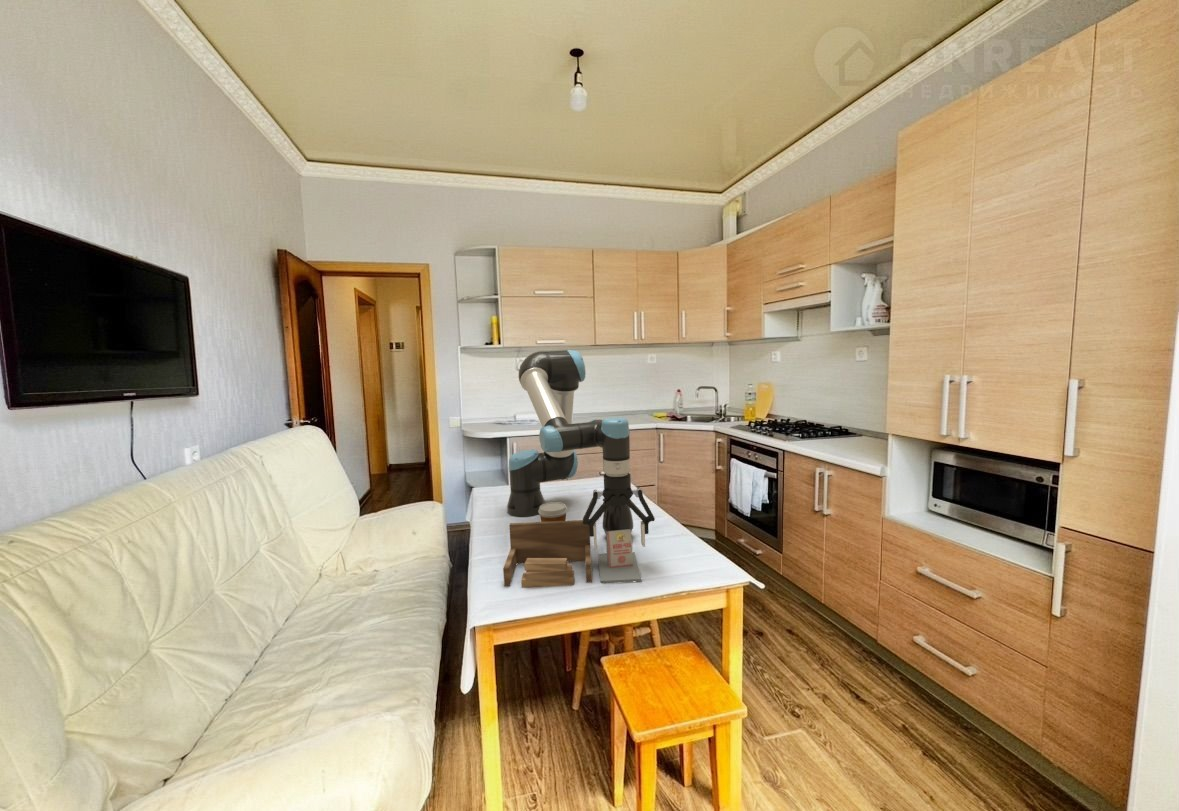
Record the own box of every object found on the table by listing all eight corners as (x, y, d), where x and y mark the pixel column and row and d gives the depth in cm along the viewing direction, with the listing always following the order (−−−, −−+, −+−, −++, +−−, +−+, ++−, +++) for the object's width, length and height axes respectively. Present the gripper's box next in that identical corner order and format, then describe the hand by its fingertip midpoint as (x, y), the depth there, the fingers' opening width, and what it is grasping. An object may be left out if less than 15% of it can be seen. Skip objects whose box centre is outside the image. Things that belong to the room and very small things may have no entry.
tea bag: (607, 562, 129) (605, 529, 128) (629, 559, 130) (628, 526, 129) (609, 568, 125) (608, 534, 124) (632, 565, 126) (631, 531, 125)
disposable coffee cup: (564, 548, 141) (563, 512, 139) (536, 547, 143) (534, 511, 141) (572, 536, 150) (570, 501, 149) (544, 535, 152) (543, 501, 151)
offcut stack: (523, 578, 123) (522, 558, 122) (574, 576, 123) (573, 555, 122) (521, 588, 118) (520, 566, 117) (574, 585, 118) (573, 564, 117)
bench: (512, 561, 133) (510, 523, 132) (590, 558, 134) (589, 519, 132) (504, 586, 120) (501, 543, 118) (591, 582, 120) (590, 539, 118)
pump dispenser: (596, 535, 150) (595, 492, 148) (622, 528, 155) (621, 486, 153) (613, 546, 141) (611, 500, 139) (639, 539, 146) (638, 494, 144)
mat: (598, 556, 135) (598, 553, 135) (634, 554, 135) (634, 552, 135) (600, 583, 119) (600, 580, 119) (641, 581, 119) (641, 578, 119)
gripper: (571, 478, 121) (575, 553, 123) (663, 474, 121) (665, 549, 123) (572, 471, 128) (575, 542, 131) (659, 467, 128) (660, 538, 131)
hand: (619, 545), depth 127 cm, fingers open, 13 cm apart
